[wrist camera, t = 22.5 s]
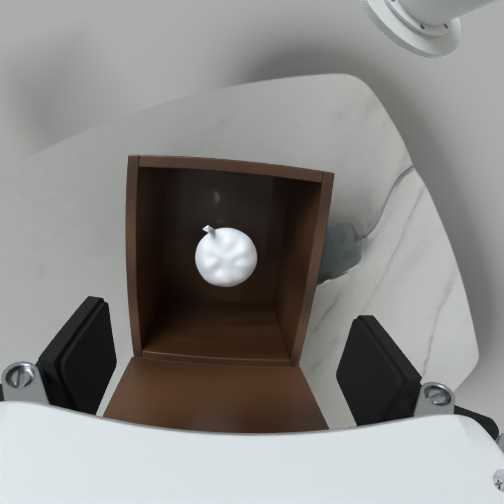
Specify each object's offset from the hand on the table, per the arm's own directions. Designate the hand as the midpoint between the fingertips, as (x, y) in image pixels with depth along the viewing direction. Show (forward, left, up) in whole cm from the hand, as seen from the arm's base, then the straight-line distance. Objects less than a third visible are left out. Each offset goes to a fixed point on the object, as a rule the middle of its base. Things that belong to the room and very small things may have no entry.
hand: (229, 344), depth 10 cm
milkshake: (0, 0, -20) cm, 20 cm away
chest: (+1, 0, -21) cm, 21 cm away
